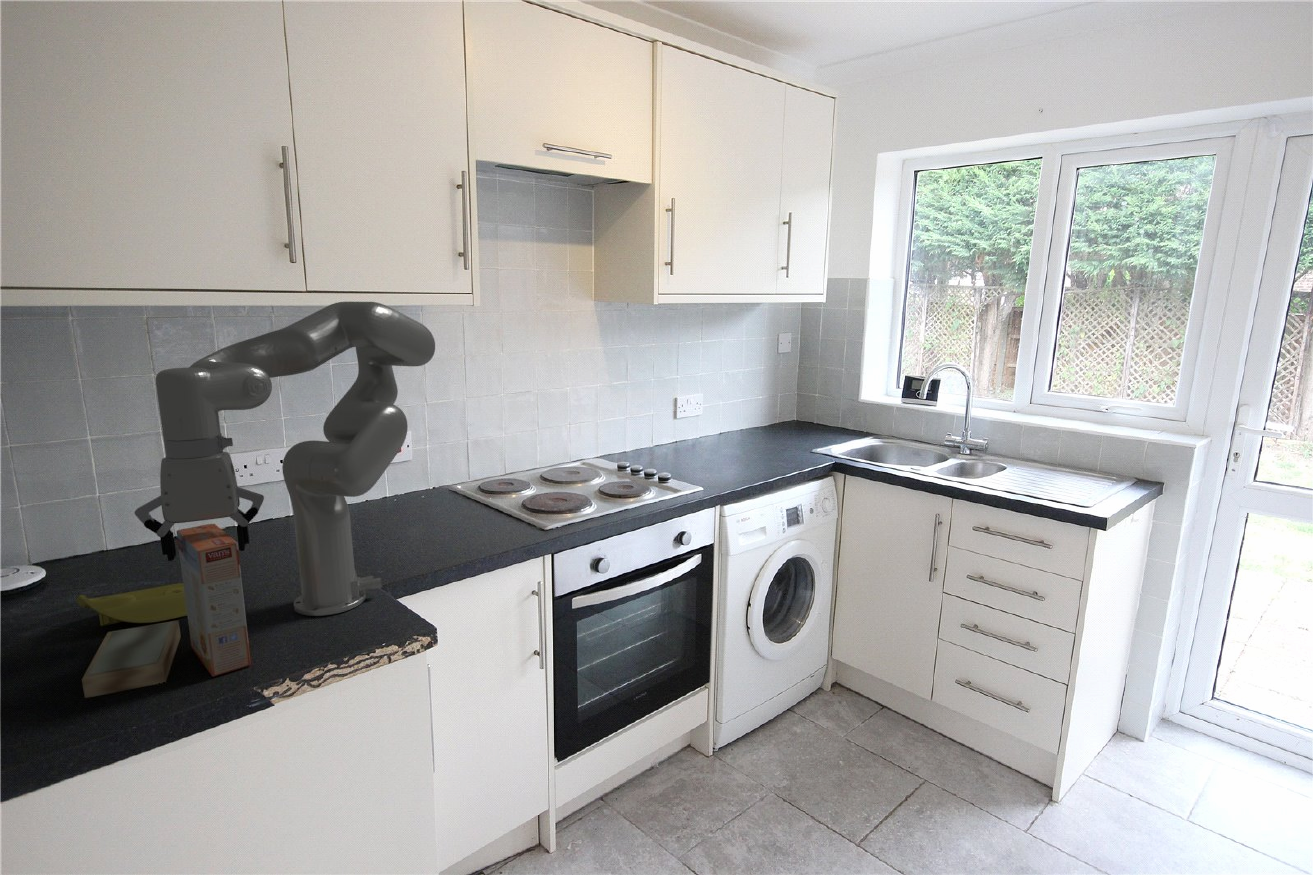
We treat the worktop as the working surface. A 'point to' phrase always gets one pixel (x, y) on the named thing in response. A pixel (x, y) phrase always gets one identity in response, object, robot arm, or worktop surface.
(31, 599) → the worktop surface
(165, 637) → the stand
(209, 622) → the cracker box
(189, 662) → the worktop surface
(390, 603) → the worktop surface
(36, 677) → the worktop surface
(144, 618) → the plastic component
